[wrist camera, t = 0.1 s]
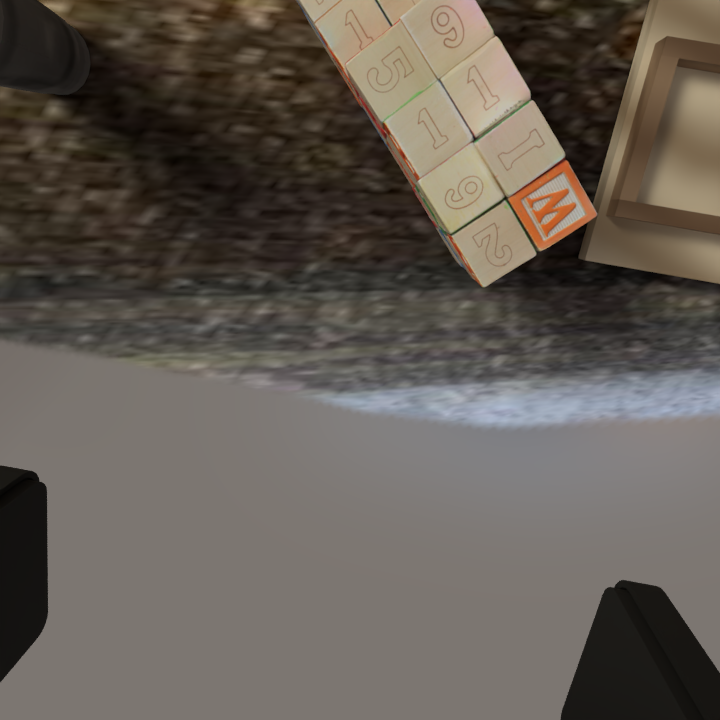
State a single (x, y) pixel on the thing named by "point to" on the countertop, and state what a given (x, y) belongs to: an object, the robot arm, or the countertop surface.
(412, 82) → the stack of blocks
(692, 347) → the countertop surface
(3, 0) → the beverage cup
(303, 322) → the countertop surface
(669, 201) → the base board
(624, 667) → the robot arm
